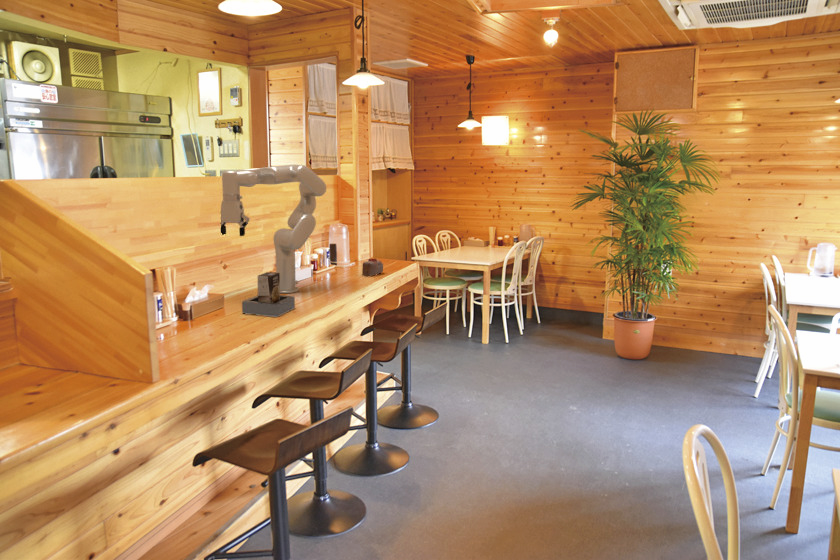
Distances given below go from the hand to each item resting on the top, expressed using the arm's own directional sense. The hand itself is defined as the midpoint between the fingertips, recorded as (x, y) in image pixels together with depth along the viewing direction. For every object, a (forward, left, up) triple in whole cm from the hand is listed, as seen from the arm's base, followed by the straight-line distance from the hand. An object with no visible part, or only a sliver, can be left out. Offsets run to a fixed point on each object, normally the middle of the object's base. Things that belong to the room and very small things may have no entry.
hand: (232, 235), depth 272 cm
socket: (+15, +26, -30) cm, 43 cm away
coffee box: (+14, +26, -30) cm, 42 cm away
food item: (-82, +40, -31) cm, 96 cm away
